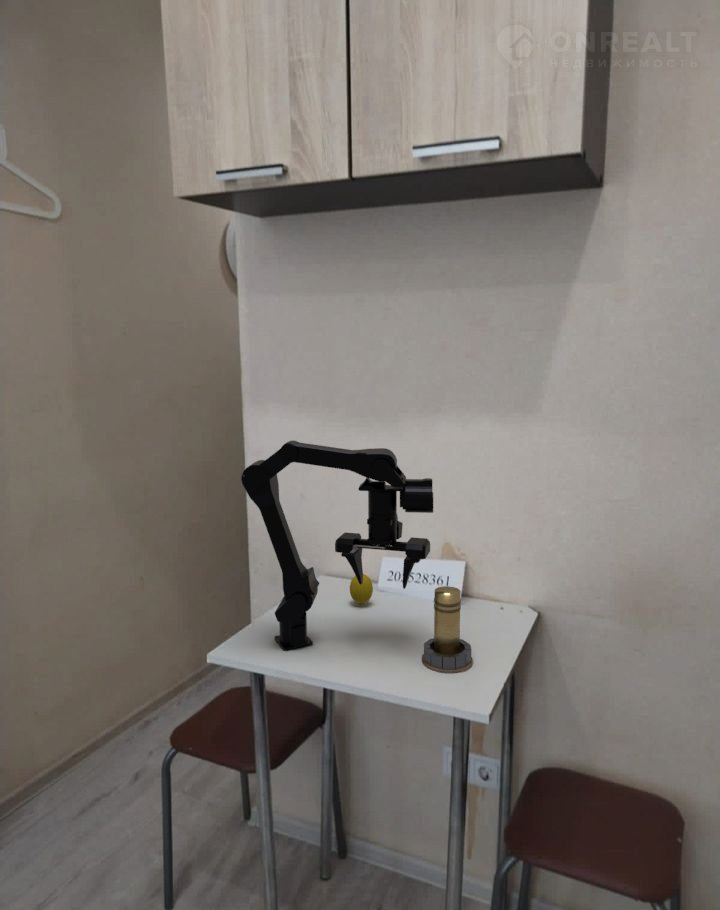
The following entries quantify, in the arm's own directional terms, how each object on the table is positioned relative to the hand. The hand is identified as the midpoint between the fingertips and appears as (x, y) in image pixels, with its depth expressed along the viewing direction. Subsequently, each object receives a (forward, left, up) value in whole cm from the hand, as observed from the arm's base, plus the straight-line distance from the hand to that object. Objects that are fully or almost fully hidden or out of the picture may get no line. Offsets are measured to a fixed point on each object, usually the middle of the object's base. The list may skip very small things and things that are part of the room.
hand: (382, 585), depth 137 cm
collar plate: (+12, +8, -13) cm, 19 cm away
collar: (+12, +8, -13) cm, 19 cm away
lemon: (-22, +6, -13) cm, 26 cm away
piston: (+12, +8, -12) cm, 19 cm away
